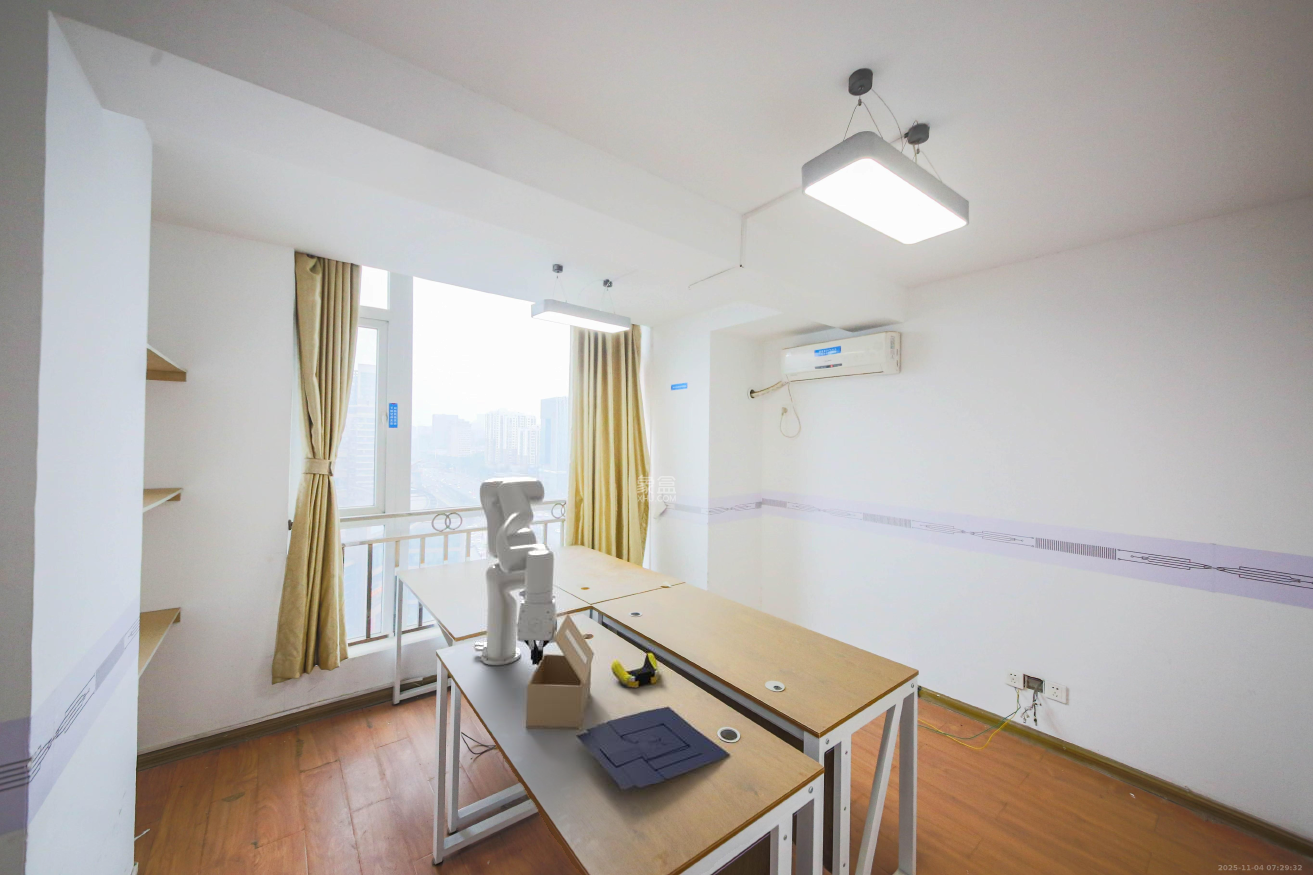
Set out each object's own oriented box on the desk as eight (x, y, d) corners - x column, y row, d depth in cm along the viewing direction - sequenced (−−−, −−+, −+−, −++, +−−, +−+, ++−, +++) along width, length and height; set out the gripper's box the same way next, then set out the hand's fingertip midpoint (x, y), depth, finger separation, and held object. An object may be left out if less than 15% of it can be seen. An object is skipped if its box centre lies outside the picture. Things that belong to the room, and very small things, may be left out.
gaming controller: (609, 677, 145) (622, 693, 136) (609, 659, 145) (623, 674, 136) (651, 667, 152) (666, 681, 144) (651, 650, 152) (667, 663, 144)
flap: (553, 639, 119) (555, 637, 119) (566, 614, 136) (568, 613, 136) (583, 684, 119) (585, 683, 119) (592, 654, 136) (594, 653, 136)
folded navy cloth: (570, 742, 112) (572, 727, 112) (666, 715, 130) (668, 702, 130) (626, 809, 92) (628, 790, 93) (729, 766, 110) (731, 750, 111)
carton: (525, 727, 119) (527, 684, 119) (542, 691, 136) (543, 653, 136) (580, 729, 119) (581, 686, 119) (590, 692, 136) (591, 655, 136)
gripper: (507, 599, 124) (504, 668, 123) (562, 601, 123) (560, 670, 123) (515, 590, 131) (513, 655, 131) (568, 592, 131) (566, 656, 131)
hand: (536, 662), depth 127 cm, fingers closed
